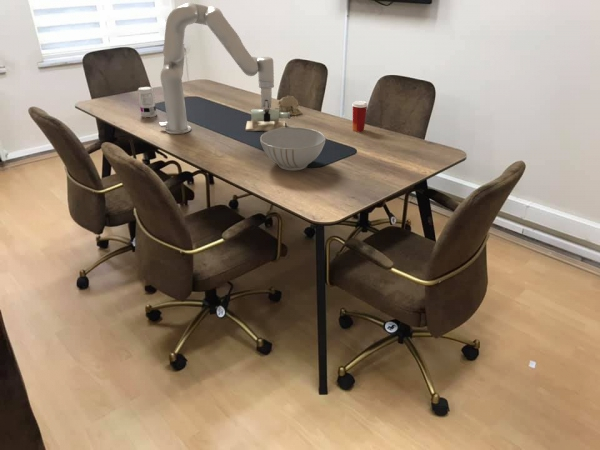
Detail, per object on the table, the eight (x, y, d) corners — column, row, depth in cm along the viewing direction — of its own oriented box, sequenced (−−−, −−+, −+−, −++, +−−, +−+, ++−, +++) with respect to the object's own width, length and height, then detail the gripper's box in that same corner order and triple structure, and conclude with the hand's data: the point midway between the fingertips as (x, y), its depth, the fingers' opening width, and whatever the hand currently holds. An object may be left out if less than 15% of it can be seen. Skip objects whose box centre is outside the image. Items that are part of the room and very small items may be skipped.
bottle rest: (245, 130, 234) (245, 122, 232) (247, 122, 246) (246, 114, 243) (285, 130, 235) (285, 121, 233) (285, 122, 246) (285, 114, 244)
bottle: (251, 122, 236) (251, 111, 233) (252, 119, 241) (251, 108, 238) (290, 122, 237) (290, 111, 234) (289, 119, 242) (289, 107, 239)
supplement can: (138, 117, 255) (133, 89, 247) (148, 113, 261) (143, 85, 254) (150, 118, 252) (146, 90, 244) (160, 114, 259) (155, 87, 251)
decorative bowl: (274, 182, 180) (273, 152, 174) (252, 158, 202) (251, 131, 196) (335, 171, 190) (337, 143, 184) (308, 150, 211) (309, 124, 205)
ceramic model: (295, 109, 269) (295, 91, 264) (303, 114, 260) (303, 96, 255) (272, 112, 264) (272, 94, 259) (280, 117, 255) (279, 99, 250)
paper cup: (367, 129, 237) (369, 101, 230) (363, 133, 231) (365, 105, 224) (353, 127, 240) (354, 99, 233) (348, 131, 234) (349, 103, 227)
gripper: (259, 79, 237) (260, 114, 246) (257, 87, 222) (259, 124, 231) (274, 79, 237) (274, 114, 246) (273, 87, 222) (274, 124, 231)
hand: (267, 119), depth 238 cm, fingers closed on bottle, 5 cm apart
